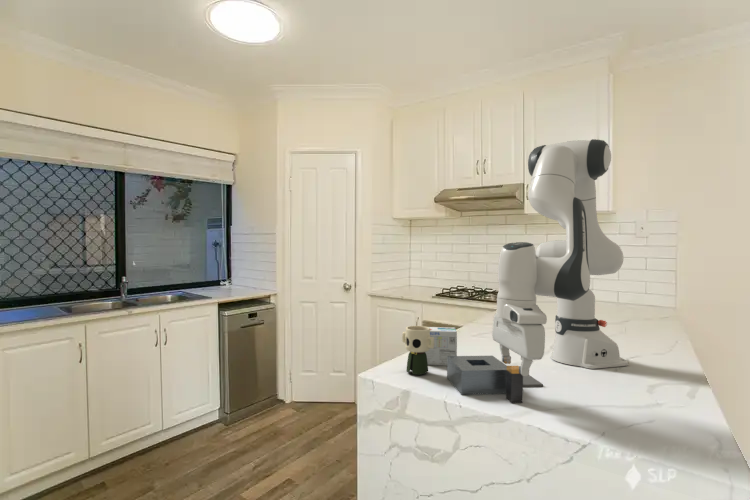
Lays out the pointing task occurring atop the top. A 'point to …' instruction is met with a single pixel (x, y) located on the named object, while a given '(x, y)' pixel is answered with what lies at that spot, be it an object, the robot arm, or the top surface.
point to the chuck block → (477, 374)
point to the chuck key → (514, 385)
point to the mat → (531, 382)
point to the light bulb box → (442, 345)
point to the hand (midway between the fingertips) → (514, 368)
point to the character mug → (417, 348)
